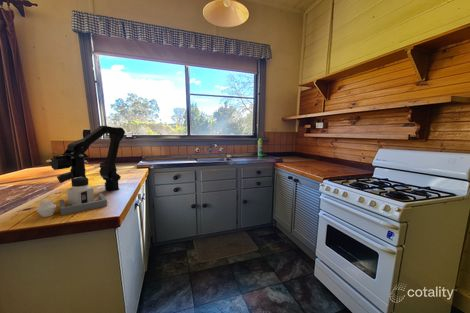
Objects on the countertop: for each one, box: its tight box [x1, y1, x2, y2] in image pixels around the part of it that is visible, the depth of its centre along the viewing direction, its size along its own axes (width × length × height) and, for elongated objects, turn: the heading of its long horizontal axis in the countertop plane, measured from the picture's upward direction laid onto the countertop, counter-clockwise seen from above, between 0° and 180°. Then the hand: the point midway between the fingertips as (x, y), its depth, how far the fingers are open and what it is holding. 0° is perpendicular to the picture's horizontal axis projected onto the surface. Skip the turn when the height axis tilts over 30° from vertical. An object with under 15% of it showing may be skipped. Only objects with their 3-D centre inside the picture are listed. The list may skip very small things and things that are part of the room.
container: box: [66, 176, 95, 206], centre depth 97 cm, size 8×8×13 cm
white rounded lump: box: [36, 199, 57, 218], centre depth 83 cm, size 6×6×7 cm
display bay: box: [59, 192, 108, 216], centre depth 95 cm, size 17×14×3 cm
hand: (80, 195), depth 104 cm, fingers closed, pressing on container
